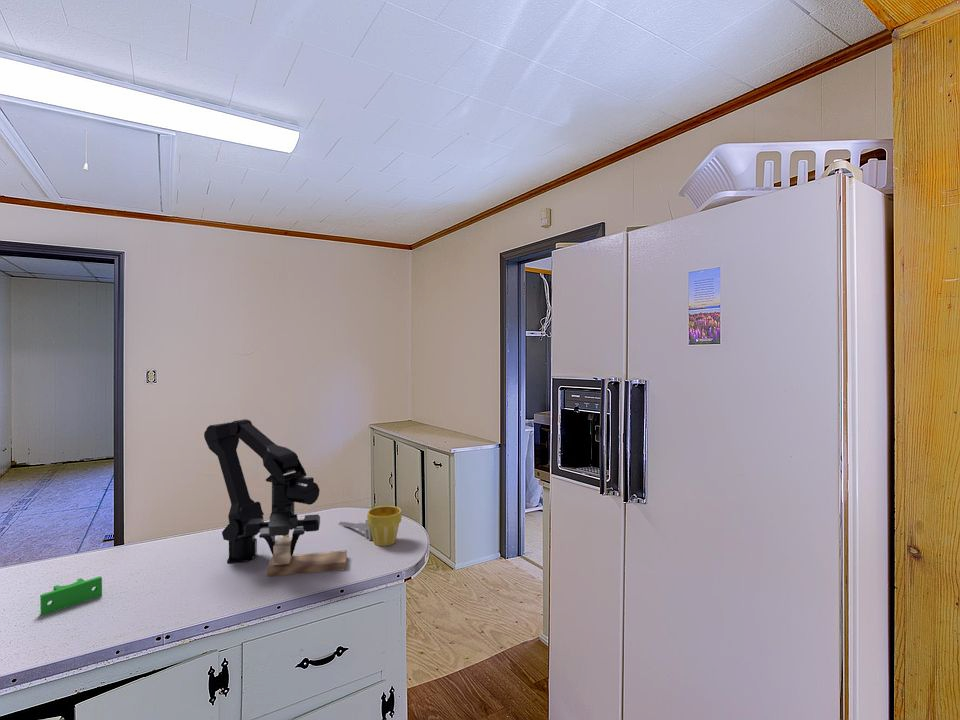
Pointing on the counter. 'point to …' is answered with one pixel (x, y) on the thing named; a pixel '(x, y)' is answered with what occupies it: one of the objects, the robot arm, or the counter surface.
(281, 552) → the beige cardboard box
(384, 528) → the plant pot
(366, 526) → the caliper
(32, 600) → the counter surface
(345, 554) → the walnut board
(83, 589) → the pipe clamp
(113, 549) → the counter surface
